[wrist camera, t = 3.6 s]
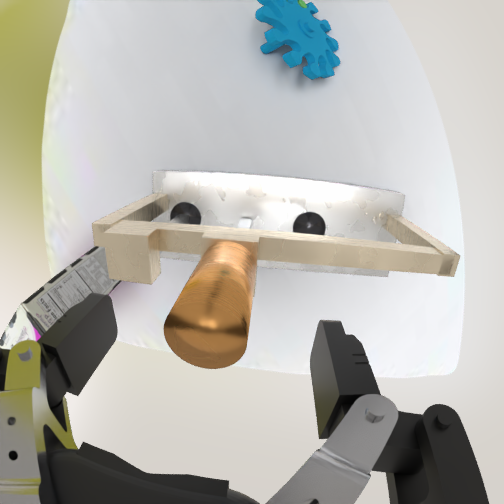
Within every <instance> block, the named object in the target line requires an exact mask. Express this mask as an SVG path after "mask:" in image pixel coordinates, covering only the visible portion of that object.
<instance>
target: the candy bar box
mask: <svg viewBox="0 0 504 504" xmlns="http://www.w3.org/2000/svg"><path fill="white" fill-rule="evenodd" d="M121 281H122V280H115V279H109V274H108V267H107V260H106V252H105V247H99V246H95V247H94V248H93V249H91V250H90V251H88V252H87V253H86V254H84V255H83V256H81V257H80V258H79V259H77V260H76V261H75V262H73V263H72V264H71V265H69V266H68V267H66V268H65V269H64V270H63V271H61V272H60V273H59V274H57V275H56V276H55V277H53V278H52V279H51V280H50V281H48V282H47V283H46V284H45V285H44V286H42V287H41V288H40V289H39V290H38V291H36V292H35V293H34V294H33V295H31V296H30V297H29V298H28V299H27V300H25V301H24V302H23V303H21V304H20V306H19V308H18V309H17V311H16V312H15V314H14V315H13V317H12V319H11V321H10V322H9V324H8V326H7V328H6V330H5V332H4V333H3V335H2V337H1V339H0V348H2V349H10V350H11V349H12V347H13V346H14V345H16V344H17V343H19V342H21V341H24V340H34V341H36V342H37V340H38V339H39V338H40V337H41V336H42V335H43V334H44V333H45V332H46V331H47V330H48V329H49V328H50V327H51V326H52V325H53V324H54V323H55V322H57V320H58V319H59V318H60V317H61V316H63V314H64V313H65V312H66V311H67V310H68V309H70V308H71V307H72V306H74V305H76V304H78V303H80V302H82V301H83V300H84V299H85V298H86V297H87V296H88V295H89V294H90V293H92V292H94V293H99V294H104V295H109V294H110V292H111V291H112V290H113V289H114V288H115V287H116V286H117V285H118V284H119V283H120V282H121Z"/></svg>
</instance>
